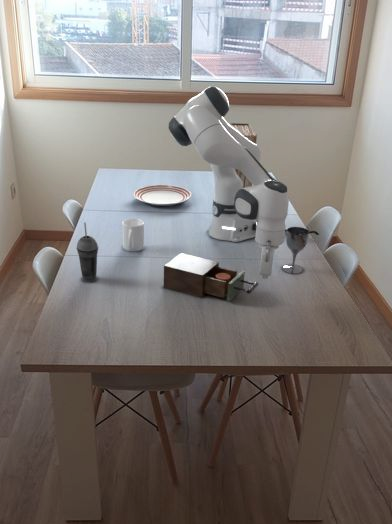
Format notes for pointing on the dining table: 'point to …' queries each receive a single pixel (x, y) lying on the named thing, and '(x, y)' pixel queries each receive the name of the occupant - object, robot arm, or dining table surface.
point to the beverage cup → (88, 256)
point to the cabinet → (187, 274)
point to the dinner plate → (162, 195)
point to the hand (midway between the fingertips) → (265, 276)
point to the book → (251, 136)
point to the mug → (133, 234)
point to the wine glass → (295, 245)
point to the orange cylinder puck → (223, 278)
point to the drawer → (219, 286)
